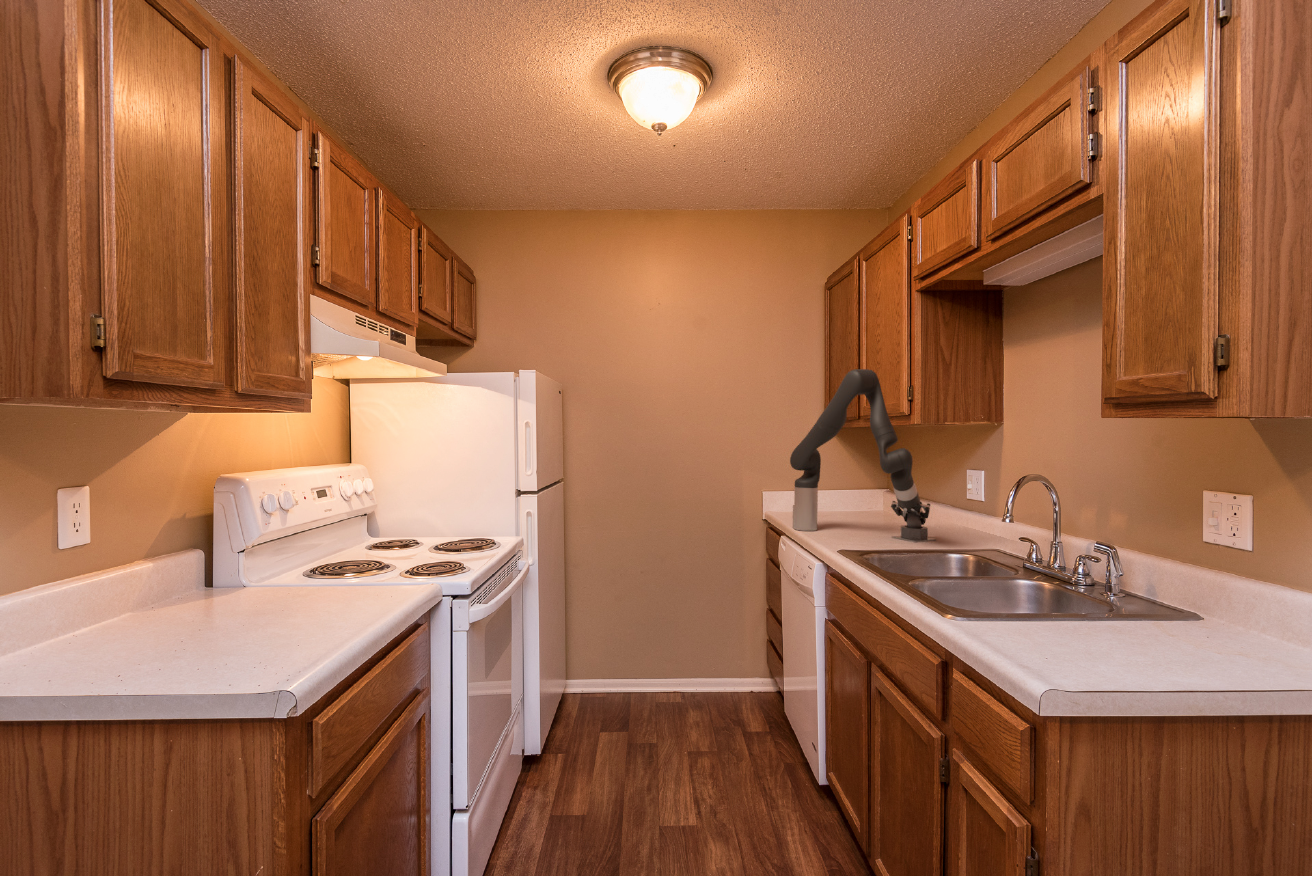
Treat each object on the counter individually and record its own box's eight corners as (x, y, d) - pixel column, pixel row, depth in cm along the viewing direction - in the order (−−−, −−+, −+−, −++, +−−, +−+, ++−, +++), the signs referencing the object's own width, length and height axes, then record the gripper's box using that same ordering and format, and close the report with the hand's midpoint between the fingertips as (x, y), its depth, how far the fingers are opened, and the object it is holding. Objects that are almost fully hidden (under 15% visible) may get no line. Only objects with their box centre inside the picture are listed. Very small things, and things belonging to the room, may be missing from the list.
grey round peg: (903, 533, 234) (903, 506, 234) (913, 532, 236) (913, 506, 236) (914, 535, 229) (915, 508, 229) (924, 534, 231) (925, 507, 231)
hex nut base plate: (891, 537, 235) (891, 525, 235) (912, 535, 240) (912, 524, 240) (915, 542, 225) (915, 529, 225) (936, 540, 230) (936, 528, 230)
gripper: (929, 485, 222) (938, 516, 232) (888, 483, 231) (898, 512, 241) (924, 501, 218) (933, 532, 228) (883, 498, 227) (893, 528, 237)
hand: (915, 522), depth 234 cm, fingers closed on grey round peg, 4 cm apart
